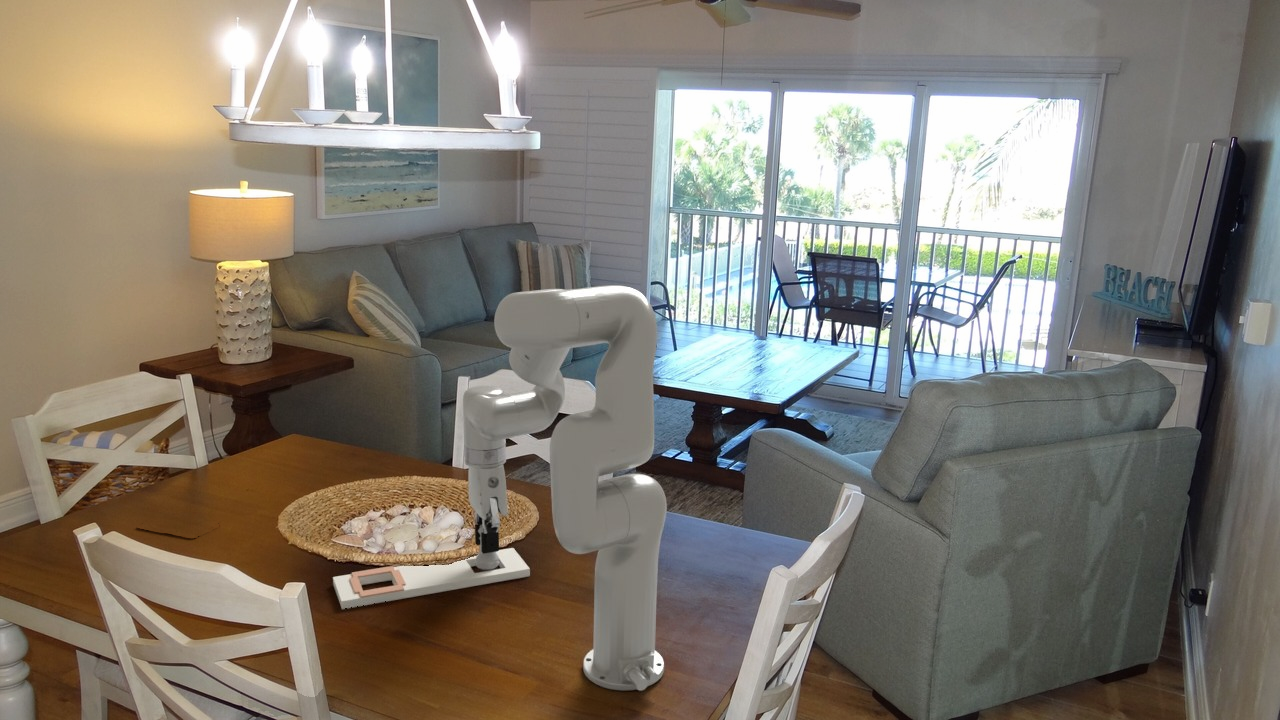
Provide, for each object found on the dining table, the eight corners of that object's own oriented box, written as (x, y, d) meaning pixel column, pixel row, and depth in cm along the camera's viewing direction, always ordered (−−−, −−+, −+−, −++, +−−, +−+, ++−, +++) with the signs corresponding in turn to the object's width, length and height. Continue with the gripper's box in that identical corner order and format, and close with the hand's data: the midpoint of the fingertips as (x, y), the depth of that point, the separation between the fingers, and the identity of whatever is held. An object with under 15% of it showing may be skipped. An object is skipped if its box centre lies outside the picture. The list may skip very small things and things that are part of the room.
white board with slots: (529, 576, 182) (529, 567, 182) (341, 609, 168) (341, 599, 167) (513, 554, 191) (513, 546, 190) (333, 584, 176) (332, 575, 176)
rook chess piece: (494, 571, 180) (493, 531, 178) (471, 569, 181) (470, 529, 179) (502, 562, 184) (502, 522, 183) (480, 559, 185) (479, 520, 183)
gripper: (519, 464, 172) (520, 561, 176) (491, 439, 187) (493, 529, 191) (477, 470, 169) (479, 568, 173) (453, 443, 183) (455, 535, 187)
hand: (487, 546), depth 182 cm, fingers closed on rook chess piece, 3 cm apart
